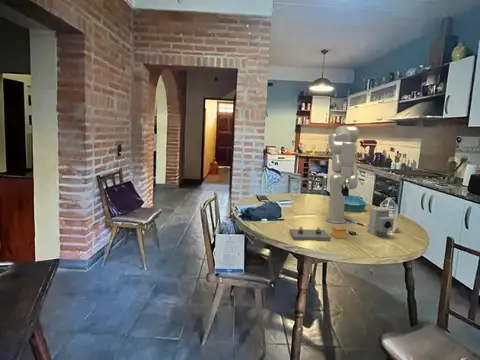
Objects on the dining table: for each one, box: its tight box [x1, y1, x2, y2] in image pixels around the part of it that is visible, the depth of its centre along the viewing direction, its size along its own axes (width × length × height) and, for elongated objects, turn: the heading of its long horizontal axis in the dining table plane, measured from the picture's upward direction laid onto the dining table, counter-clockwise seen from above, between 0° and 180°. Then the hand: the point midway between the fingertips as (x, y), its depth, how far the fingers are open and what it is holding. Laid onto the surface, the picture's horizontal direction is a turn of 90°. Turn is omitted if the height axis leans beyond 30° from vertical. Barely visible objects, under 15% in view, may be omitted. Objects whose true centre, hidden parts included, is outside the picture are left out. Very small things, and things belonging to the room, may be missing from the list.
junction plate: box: [289, 226, 331, 242], centre depth 196 cm, size 14×20×6 cm
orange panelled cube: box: [331, 226, 347, 240], centre depth 197 cm, size 6×6×5 cm
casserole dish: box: [344, 194, 368, 213], centre depth 271 cm, size 37×22×7 cm, turn 176°
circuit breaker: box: [366, 206, 395, 237], centre depth 202 cm, size 8×14×15 cm, turn 16°
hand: (344, 194), depth 195 cm, fingers open, 9 cm apart
